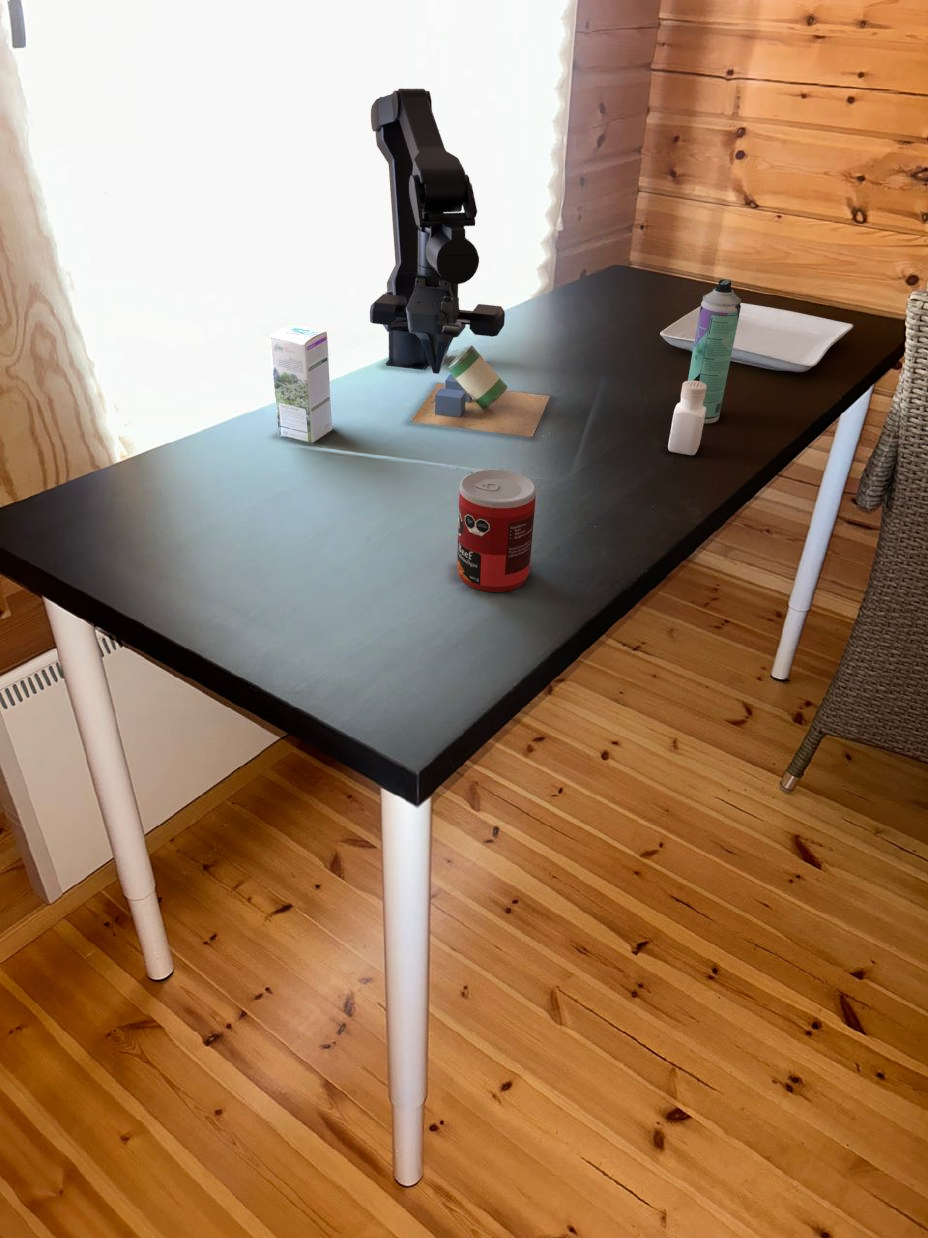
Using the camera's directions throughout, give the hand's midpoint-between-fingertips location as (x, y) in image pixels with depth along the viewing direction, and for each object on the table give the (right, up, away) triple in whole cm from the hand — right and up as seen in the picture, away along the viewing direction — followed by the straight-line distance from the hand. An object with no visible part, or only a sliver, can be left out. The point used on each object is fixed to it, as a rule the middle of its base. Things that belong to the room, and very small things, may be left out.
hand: (436, 372), depth 141 cm
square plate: (+56, +12, +30) cm, 65 cm away
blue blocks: (+3, -4, +2) cm, 5 cm away
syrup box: (-18, -11, -7) cm, 22 cm away
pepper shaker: (+35, -13, -7) cm, 38 cm away
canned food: (+7, -32, -36) cm, 49 cm away
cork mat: (+7, -5, +2) cm, 9 cm away
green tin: (+6, -5, +2) cm, 8 cm away
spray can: (+40, -6, +3) cm, 40 cm away
